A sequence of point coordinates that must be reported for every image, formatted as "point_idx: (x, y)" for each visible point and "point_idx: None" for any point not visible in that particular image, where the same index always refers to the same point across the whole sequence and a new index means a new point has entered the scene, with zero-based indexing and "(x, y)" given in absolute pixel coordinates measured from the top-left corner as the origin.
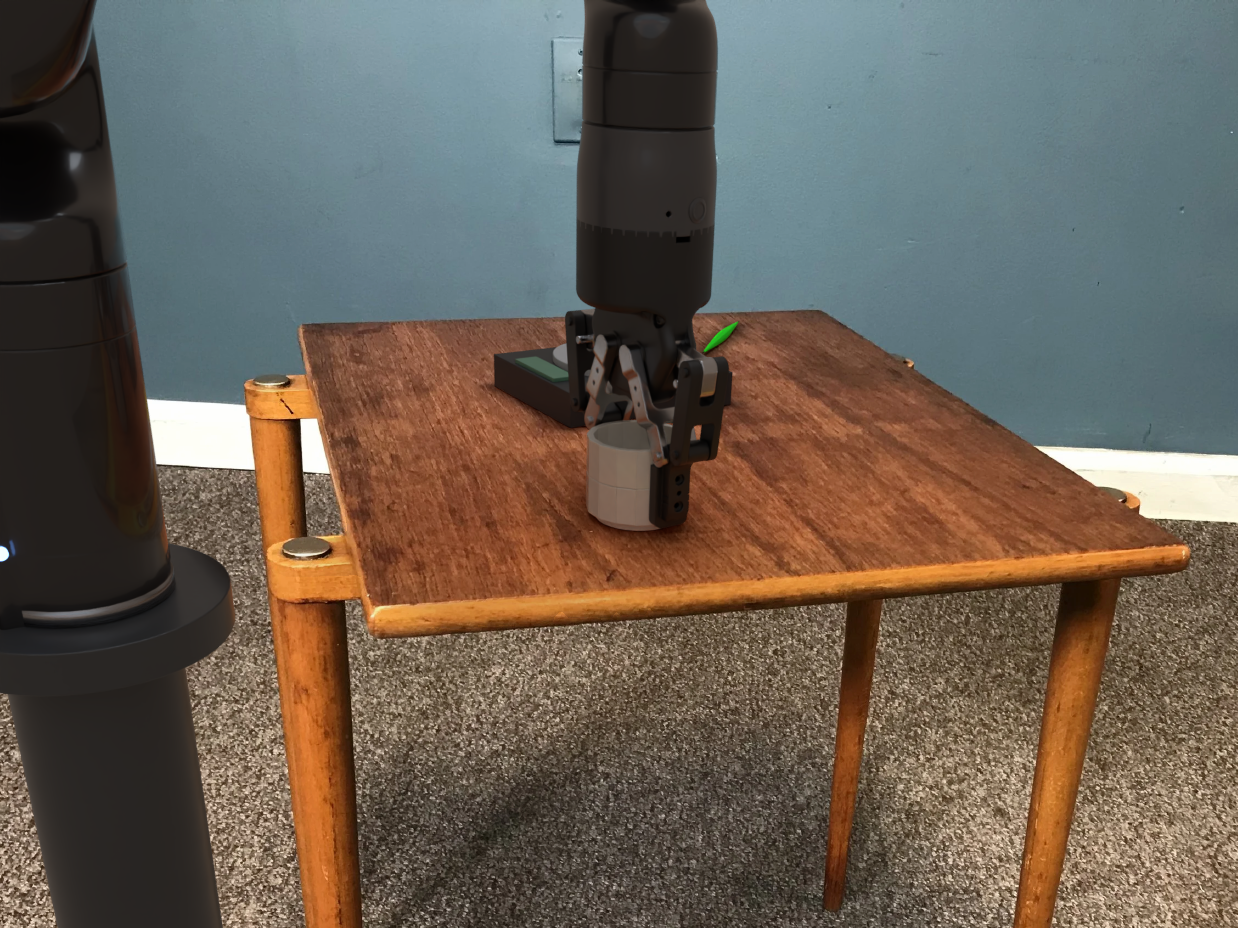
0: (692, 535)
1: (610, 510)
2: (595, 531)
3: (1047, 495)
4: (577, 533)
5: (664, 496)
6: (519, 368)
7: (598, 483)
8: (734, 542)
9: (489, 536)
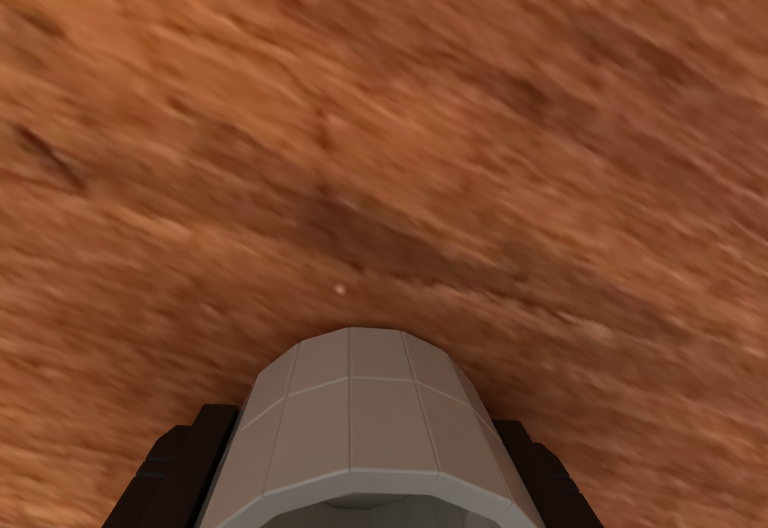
0: None
1: (311, 351)
2: (335, 298)
3: None
4: (348, 254)
5: (163, 474)
6: None
7: (354, 375)
8: None
9: (460, 42)
